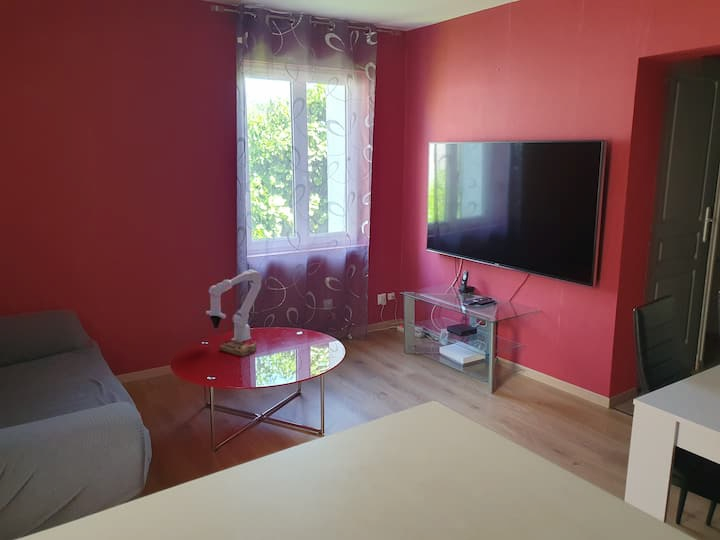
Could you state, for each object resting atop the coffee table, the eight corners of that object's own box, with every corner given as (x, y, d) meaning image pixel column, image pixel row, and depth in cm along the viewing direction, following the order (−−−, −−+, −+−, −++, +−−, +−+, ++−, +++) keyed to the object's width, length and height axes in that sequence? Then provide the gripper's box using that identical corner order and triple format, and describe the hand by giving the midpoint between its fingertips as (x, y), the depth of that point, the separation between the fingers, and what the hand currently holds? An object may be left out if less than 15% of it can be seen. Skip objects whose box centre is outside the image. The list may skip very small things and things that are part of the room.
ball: (247, 351, 325) (243, 351, 327) (247, 345, 326) (243, 345, 328) (243, 351, 322) (239, 351, 324) (243, 345, 323) (239, 345, 325)
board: (233, 344, 336) (233, 337, 335) (256, 350, 327) (256, 343, 326) (220, 350, 327) (219, 342, 326) (243, 356, 318) (242, 348, 317)
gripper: (201, 305, 334) (202, 327, 336) (219, 309, 326) (220, 331, 329) (210, 302, 339) (211, 324, 342) (228, 306, 332) (228, 328, 335)
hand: (216, 327), depth 336 cm, fingers closed
